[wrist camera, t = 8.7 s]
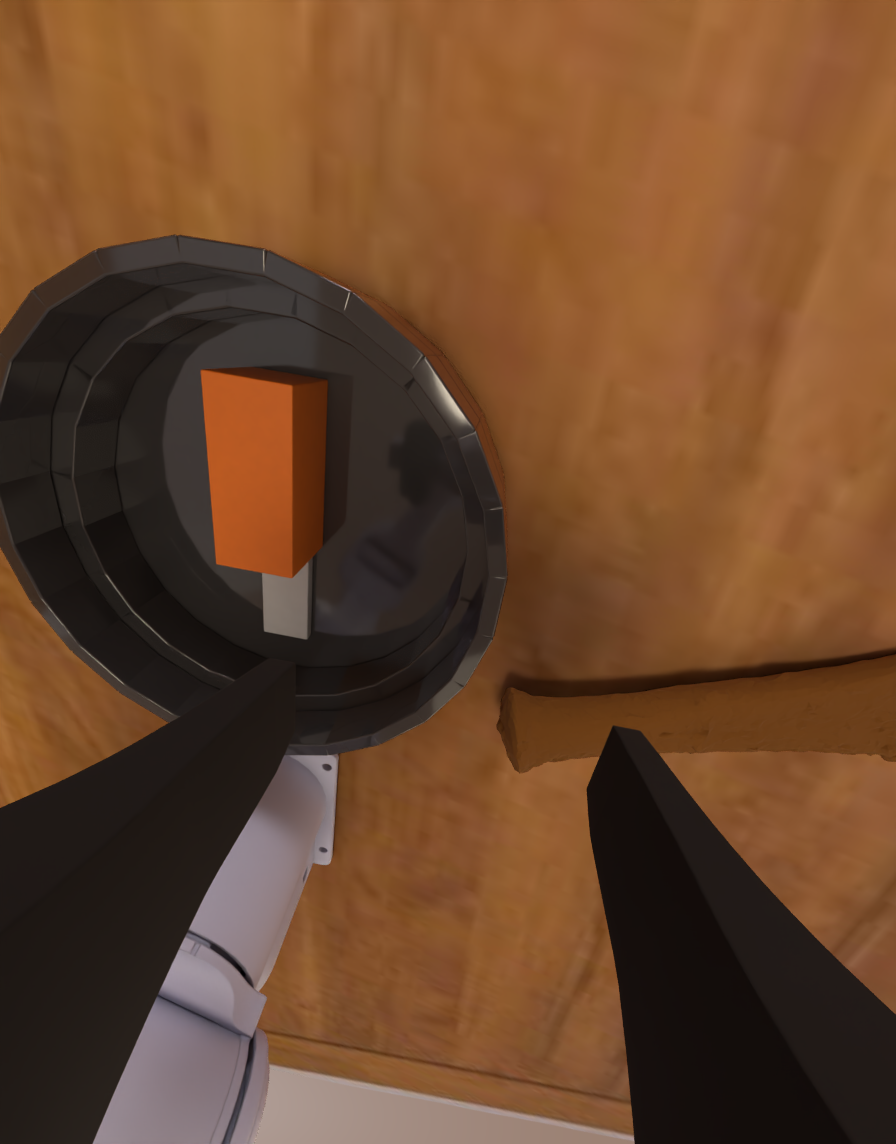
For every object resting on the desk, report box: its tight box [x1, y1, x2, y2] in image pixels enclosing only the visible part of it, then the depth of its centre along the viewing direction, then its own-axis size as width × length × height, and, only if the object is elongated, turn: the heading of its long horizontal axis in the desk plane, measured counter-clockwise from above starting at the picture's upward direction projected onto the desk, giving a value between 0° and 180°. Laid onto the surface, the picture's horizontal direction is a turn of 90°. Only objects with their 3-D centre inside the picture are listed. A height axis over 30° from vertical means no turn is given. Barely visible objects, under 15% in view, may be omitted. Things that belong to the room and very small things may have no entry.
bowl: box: [0, 235, 508, 756], centre depth 17 cm, size 17×17×4 cm
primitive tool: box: [497, 655, 896, 773], centre depth 19 cm, size 19×6×4 cm, turn 100°
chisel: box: [201, 367, 328, 639], centre depth 17 cm, size 11×3×3 cm, turn 171°
